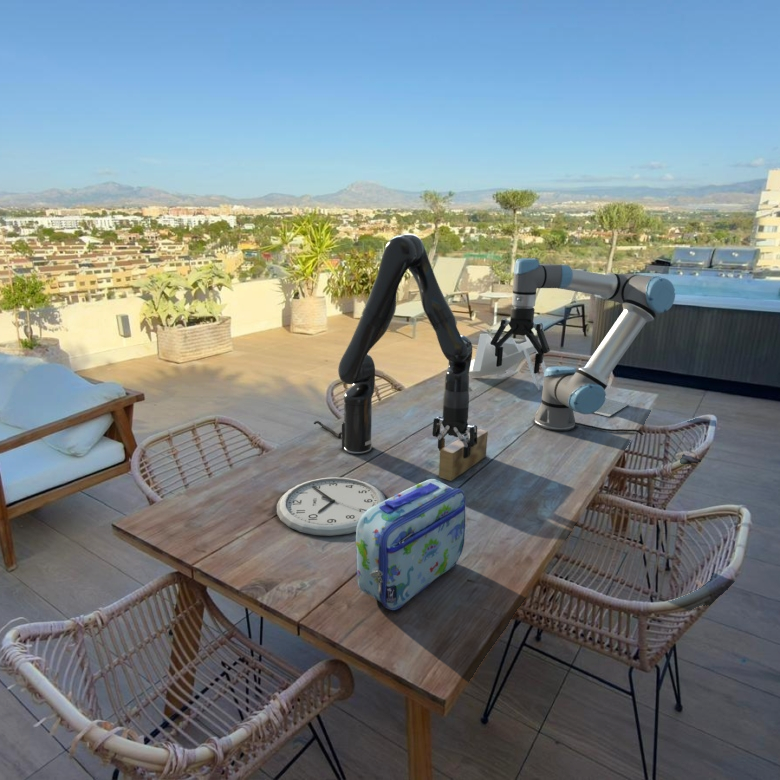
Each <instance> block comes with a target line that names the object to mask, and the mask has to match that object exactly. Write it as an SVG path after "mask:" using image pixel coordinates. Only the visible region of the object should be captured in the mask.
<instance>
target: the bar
mask: <svg viewBox="0 0 780 780" xmlns="http://www.w3.org/2000/svg"><path fill="white" fill-rule="evenodd" d="M467 433H468V435H469V439H470V433H469V432H467ZM488 434H489V431H488V430H485V429H483V428H482V429H481V428H479V427H477V444H476V445H474V446H473V447H471V451H470V456H468V457H467V458H463V451H464V444H463V442H462V441H460V439H459V438H457V439H456V440H453V441H452V442H450V443H449V444H447V445H445V447H444V448H442V449H440V451H439V463H438V465H439V466H438V478H441V479H444V480H446V481H449V482H452V481H454V480H455V479H457V478H458V477H459V476H461V475H462V474H463V473H465V472H466V471H467V470H470V468H471V467H473V466H475V465H476V464H478V463H479V462H480V461H482V460H483V459H485V458H486V457H487V448H488V436H489V435H488ZM462 436H463V437H464V435H462Z"/></svg>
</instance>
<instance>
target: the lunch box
mask: <svg viewBox="0 0 780 780" xmlns="http://www.w3.org/2000/svg"><path fill="white" fill-rule="evenodd" d="M465 532H466V495H465V492H464V491H463V490H462V489H461V488H453V487H451V486H449V485H447V484H445V483H443V482H442V481H440V480H437V479H435V478H430V479H426V480H424V481H422V482H420V483H417V484H415V485H413V486H411V487H409V488H407V489H405V490H403V491H401V492H399V493H397V494H395V495H393V496H391V497H389V498H386V500H385V501H383V502H381V503H379V504H377V505H375V506H373V507H371V508H369V509H368V510H366V511H365V512H364V513H363V515H362V516H361V518H360V520H359V522H358V525H357V529H356V532H355V551H356V579H357V580H356V581H357V585H358V588H359V590H360V591H361V592H363V593H365V594H366V595H369V596H371V597H372V598H374V599H375V600H376V601H378V602H380V603H381V604H382V606H383V607H384V608H386V609H388V610H391V611H397V610H399V609H401V608H402V607H403V606H405V604H406V603H407V602H409V601H410V600H412V598H414V597H415V596H417V594H419V593H421V592H422V591H423V590H425V588H426V587H428V586H430V585H431V584H432V583H433V582H434V581H435V580H436V579H438V578H439V577H440V576H442V575H444V574H446V572H448V571H450V570H451V569H452V568H453V567H454V566H455V565H456V564H457V563H458V561H459V559H460V558H461V555H462V552H463V549H464V546H465V545H464V544H465V536H466V535H465V534H466V533H465Z"/></svg>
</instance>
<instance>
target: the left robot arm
mask: <svg viewBox="0 0 780 780" xmlns="http://www.w3.org/2000/svg"><path fill="white" fill-rule="evenodd" d="M408 270H409V272H410V273H411V275H412V277H413V278H414V281H415V282H416V285H417V288H418V289H417V290H418V292H419V297H420V303H421V306H422V309H423V312H424V314H425V316H426V318H427V320H428V322H429V324H430V326H431V327H432V329H433V331H434V332H435V335H436V338H437V341H438V345H439V347H440V350H441V352H442V354H443V356H444V357H445V358H446V360H447V361H448V364H447V365H448V366H447V369H446V371H445V375H444V391H443V398H442V399H443V400H442V401H443V402H442V417H441V416H440V415H439V416H437V417H435V418H433V424H432V437H434V438H436V439H437V449H438V451H439V452H440V449H442V448H444V447H445V446H446V438H445V437H446V436H447V435H448V436H453V437H455V438H458V439H460V441H462V442H463V444H464V451H463V458H467V457H468V456H470V451H471V447H473V446H474V445H476V444H477V428H478V426H477V425H469V423H468V420H469V409H470V390H469V389H470V375H469V370H470V365H471V361H472V360H473V359H472V358H473V343H472V341H471V339H470V338H469V337H467V336H466V335H461V333H460V331H459V329H458V326H457V325H458V321H457V318H456V316H455V315H454V313H453V311H452V309H451V307H450V305H449V303H448V302H447V300H446V298H445V296H444V293H443V292H442V289H441V287H440V284H439V283H438V280H437V277H436V275H435V273H434V270H433V267H432V265H431V262H430V259H429V256H428V253H427V250H426V247H425V245H424V243H423V241H422V239H421V238H420V237H419V236H417V235H415V234H413V233H406V234H401V235H396V236H394V237H393V238H391V239H390V240H389V241H387V243H386V245H385V247H384V250H383V253H382V256H381V260H380V264H379V267H378V272H377V274H376V277H375V280H374V282H373V285H372V287H371V289H370V292H369V295H368V297H367V300H366V301H365V304H364V307H363V309H362V312H361V314H360V318H359V320H358V323H357V325H356V328H355V330H354V332H353V334H352V336H351V339H350V341H349V344H348V345H347V347H346V349H345V350H344V353H343V355H342V357H341V358H340V361H339V364H338V370H337V371H338V377H339V379H340V381H341V382H342V383H343V384H346V385H351V386H350V387H349V388H348V389H347V390H346V391H345V392H344V394H343V421H342V422H341V431H339V432H338V433H337V432H335V431H334V430H333V429H331V428H330V427H328V426H327V425H325V424H323V423H322V422H321V421H320V420H314V422H313V425H316V424H318V425H319V426H321V427H322V428H323V429H325V430H327V431H328V432H330V433H331V434H332V435H333V436H335V437H336V438H338V439H340V438H341V449H342V450H343V451H345V452H346V453H348V454H351V455H365V454H367V453H370V452H371V451H372V449H373V448H372V419H373V418H372V399H373V395H374V392H375V383H376V381H375V380H376V365H375V361H374V359H373V357H372V356H371V355H370V354H369V353H370V351H371V350H372V348H374V346H375V345H377V343H378V342H379V341H380V340H381V339H382V337H383V336H384V335H385V334H386V333H387V331H388V329H389V327H390V326H391V323H392V321H393V318H394V317H395V314H396V310H397V294H398V289H399V286H400V284H401V281H402V279H403V278H404V276H405V274H406V272H407V271H408ZM441 425H442V427H443V429H442V431H441ZM468 433H470V439H469V435H468ZM463 436H464V437H463Z"/></svg>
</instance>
